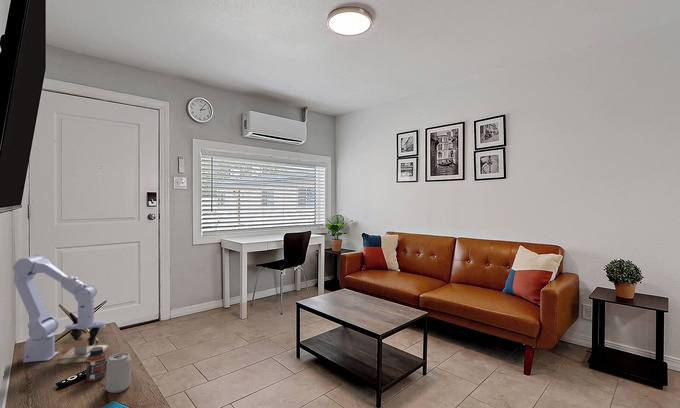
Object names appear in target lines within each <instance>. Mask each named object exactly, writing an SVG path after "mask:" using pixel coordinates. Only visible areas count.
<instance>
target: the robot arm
mask: <svg viewBox="0 0 680 408" xmlns="http://www.w3.org/2000/svg"><path fill="white" fill-rule="evenodd" d="M12 269H13V272H14V273H13V282H14V284H15V288H16V290H17V292H18V293H19V296H20V299H21V301H22V303H23V305H24V308H25V310H26V312H27V314H28V317H29V321H28V323H27V328H28V336H29V338H27V339H26V340H25V343H24V345H23V360H22V363H33V362H43V361H50V360H51V359H52V358H54V357H55V356H56V355H58V354H59V353H60V351H55V348H56V347H55V345H56V344H55V343H56V341H55V338H56V335H55V334H56V331H57V329H58V328H59V322H58V320H57V319H56V318H55V317H54V315H53V314H52V313H49V312H47V310H46V308H45V305H44V302H43V301H42V298H41V297H40V294H39V291H38V289H37V287H36V284H35V283H34V280H33V279H34V277H35V276H36V274H41V273H42V274H45V275H46V276H48V277H50V278H52V279H53V280H55V281H56V282H59V283H60V286H61V288H63V289H64V290H66V291H67V292H69V293H71V294H72V295H73V296H74V299H75V301H77V323H74V324H67V325H65V326H64V328H65V330H64V331H66V332H68V331H70V333H69V334H70V335H71V337H72V338H73V340H74V341H75V340H76V339H77V338H79V337H80V336H81V335H82V334H83V333H82V332H83V330H88V329H89V331H88V333H90V346H92V345H93V344H94V342H95V343H96V338H97V335H98V334H99V331H100V330H101V329H105V327H106V322H96V321H95V297H96V295H97V288H96V287H95V286H94V285H88V284H87V283H84V282H83V281H81V280H80V279H79V277H78V276H73V275H72V276H71V275H70V276H68V275H67V274H66V273H64V272H63V271H62V270H60V269H59V268H58V267H57V266H55V265H54V264H52V262H51V261H50V260H49V259H48V258H45V256H43V255H39V254H35V255H33V256H29V257H23V258H19V259H18V260H17V261H16V262H15V263H14V264H13V266H12Z"/></svg>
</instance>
